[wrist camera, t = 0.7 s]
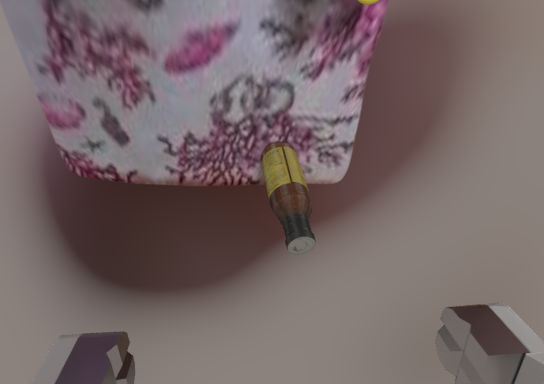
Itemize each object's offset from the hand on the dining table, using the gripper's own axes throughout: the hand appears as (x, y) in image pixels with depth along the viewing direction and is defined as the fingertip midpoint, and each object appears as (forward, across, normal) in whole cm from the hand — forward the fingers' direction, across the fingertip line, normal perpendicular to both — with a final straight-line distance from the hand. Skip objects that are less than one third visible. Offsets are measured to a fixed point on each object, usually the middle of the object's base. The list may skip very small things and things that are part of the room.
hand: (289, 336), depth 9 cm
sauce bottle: (+53, -5, +13) cm, 55 cm away
